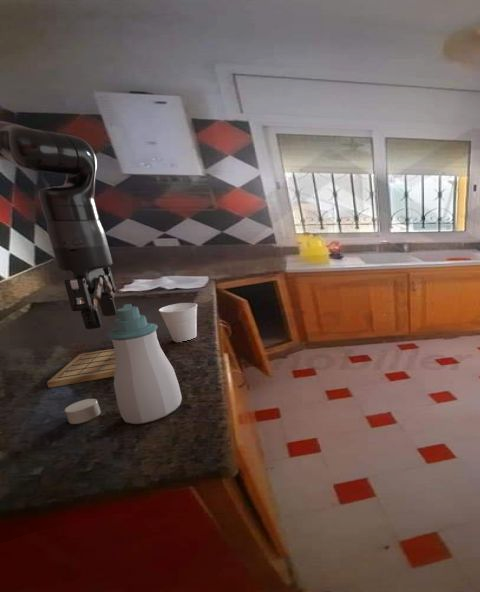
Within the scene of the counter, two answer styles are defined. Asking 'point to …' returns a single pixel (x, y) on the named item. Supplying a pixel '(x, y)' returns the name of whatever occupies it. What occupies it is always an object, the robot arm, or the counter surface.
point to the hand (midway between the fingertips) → (102, 321)
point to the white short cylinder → (82, 411)
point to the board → (86, 368)
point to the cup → (180, 320)
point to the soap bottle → (141, 370)
